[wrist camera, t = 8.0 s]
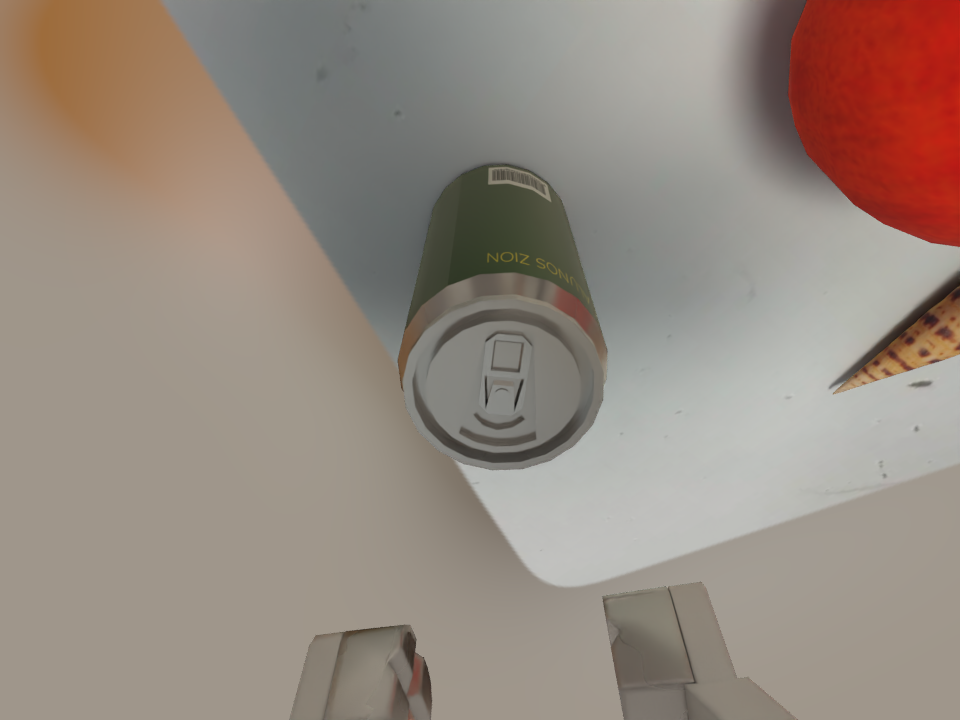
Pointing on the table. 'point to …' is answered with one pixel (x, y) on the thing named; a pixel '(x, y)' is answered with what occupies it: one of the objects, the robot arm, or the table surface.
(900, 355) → the seashell
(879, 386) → the table surface
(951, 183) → the apple
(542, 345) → the guarana soda tin
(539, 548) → the table surface
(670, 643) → the robot arm
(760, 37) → the table surface
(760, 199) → the table surface
